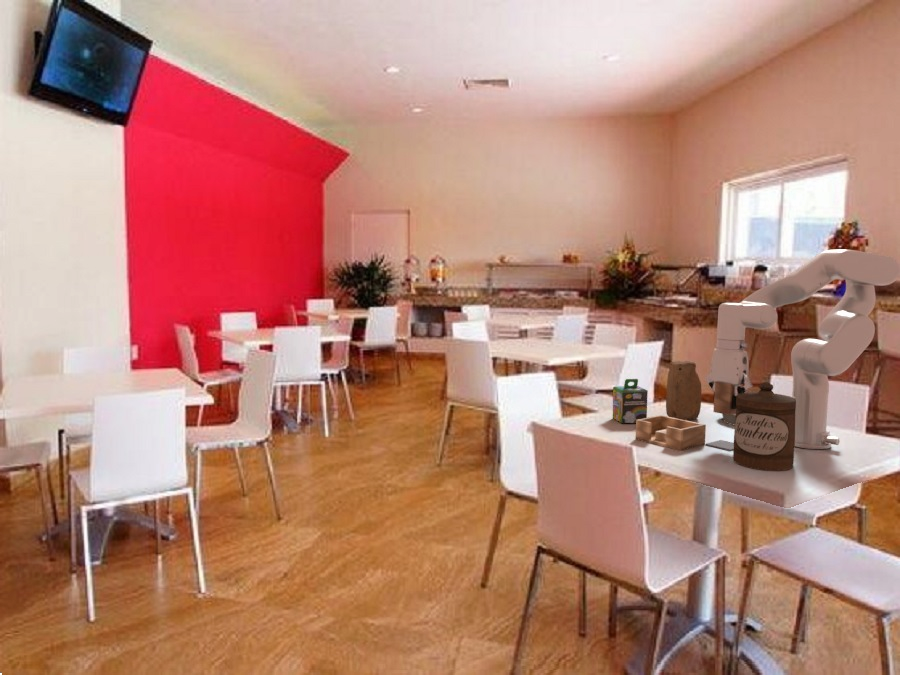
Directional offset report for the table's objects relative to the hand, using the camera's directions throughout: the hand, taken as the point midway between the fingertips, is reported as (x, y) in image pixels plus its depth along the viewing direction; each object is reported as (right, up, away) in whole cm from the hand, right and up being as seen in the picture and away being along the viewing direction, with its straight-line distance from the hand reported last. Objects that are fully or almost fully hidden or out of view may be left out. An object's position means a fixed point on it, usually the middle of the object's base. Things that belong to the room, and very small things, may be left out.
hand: (726, 406), depth 200 cm
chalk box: (-20, -9, +34) cm, 40 cm away
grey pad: (0, -12, +1) cm, 12 cm away
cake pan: (+24, -9, +33) cm, 42 cm away
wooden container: (+3, -14, -16) cm, 22 cm away
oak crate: (-15, -11, +6) cm, 20 cm away
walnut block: (0, -2, 0) cm, 2 cm away
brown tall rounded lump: (0, -8, +38) cm, 39 cm away
